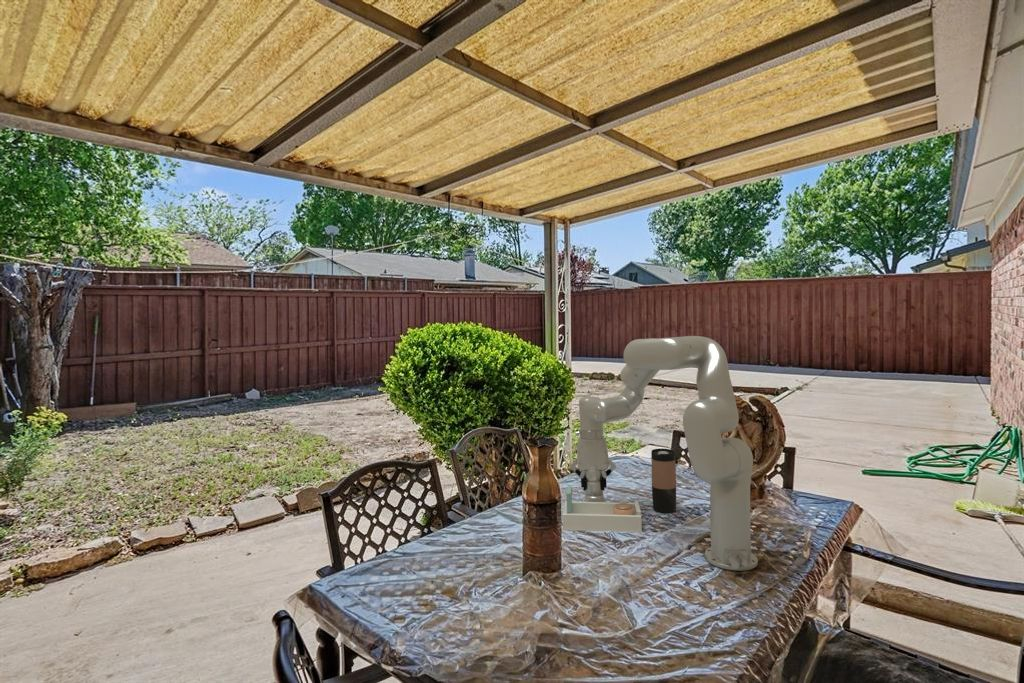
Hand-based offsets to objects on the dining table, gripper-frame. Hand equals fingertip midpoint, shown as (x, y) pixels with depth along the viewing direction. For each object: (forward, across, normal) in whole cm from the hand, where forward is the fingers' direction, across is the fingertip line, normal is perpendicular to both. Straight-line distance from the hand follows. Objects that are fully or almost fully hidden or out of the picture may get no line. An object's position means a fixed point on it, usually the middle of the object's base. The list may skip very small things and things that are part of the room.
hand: (593, 488), depth 172 cm
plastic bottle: (+7, 0, 0) cm, 7 cm away
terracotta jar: (+7, +9, -12) cm, 16 cm away
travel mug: (+8, +22, +2) cm, 24 cm away
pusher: (+7, -8, -12) cm, 15 cm away
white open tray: (+8, +2, -12) cm, 14 cm away
